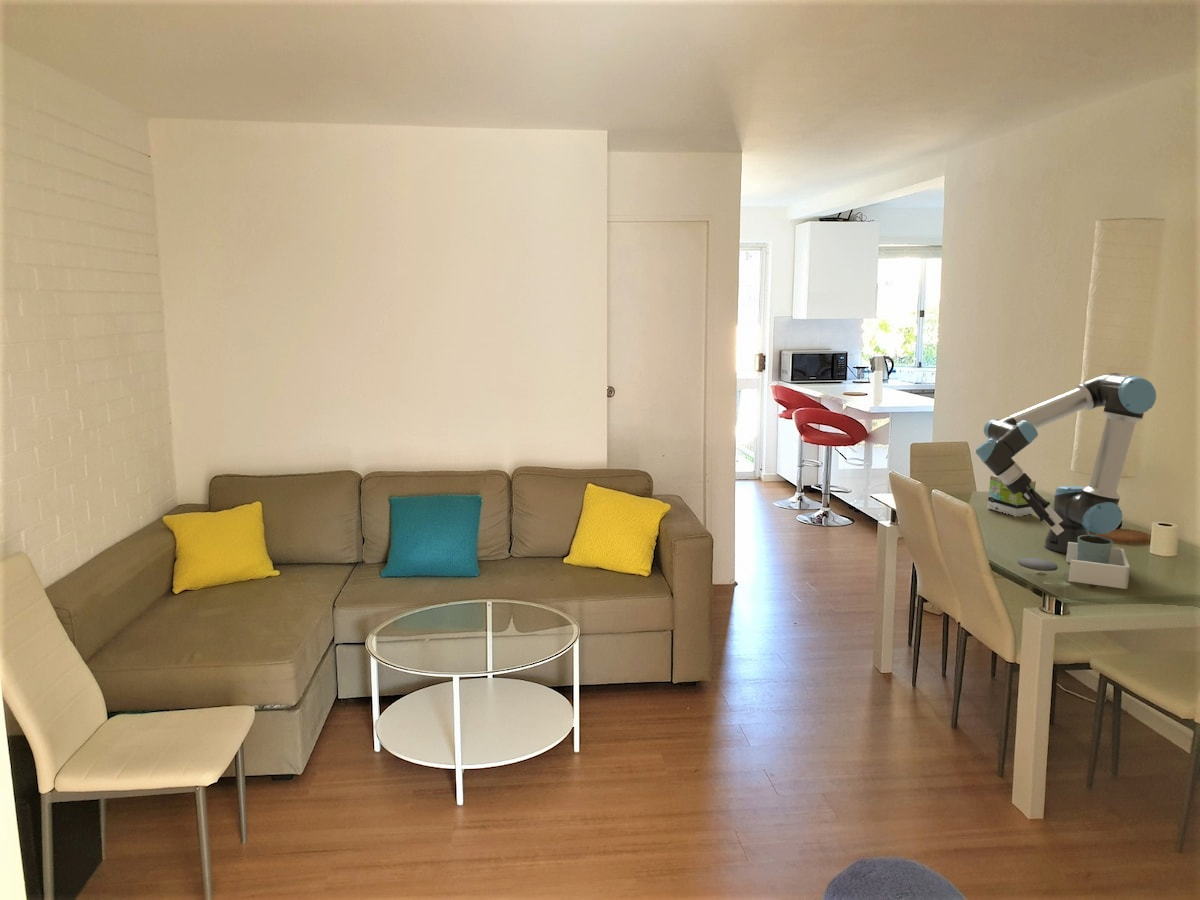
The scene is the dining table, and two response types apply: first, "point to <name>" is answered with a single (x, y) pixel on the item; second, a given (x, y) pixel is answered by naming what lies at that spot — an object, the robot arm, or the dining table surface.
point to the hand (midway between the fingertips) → (1060, 527)
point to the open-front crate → (1099, 569)
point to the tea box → (1007, 499)
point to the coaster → (1037, 563)
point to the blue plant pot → (1094, 549)
